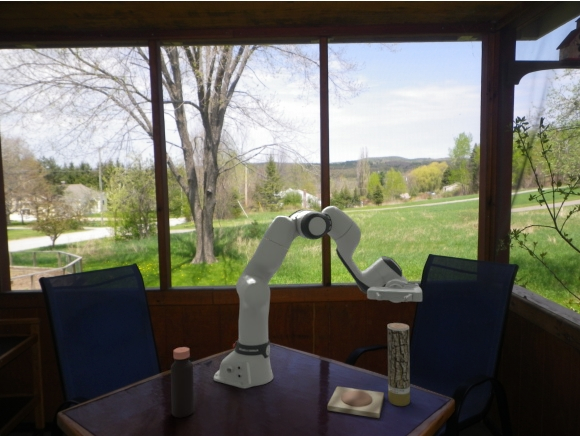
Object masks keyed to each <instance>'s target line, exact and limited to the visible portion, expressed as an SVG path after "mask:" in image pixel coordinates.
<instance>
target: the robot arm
mask: <svg viewBox="0 0 580 436" xmlns="http://www.w3.org/2000/svg"><path fill="white" fill-rule="evenodd" d="M325 235H328V236H329V237H330V238H331V239H332V240H333V241H334V242H335V244H336V249H335V253H336V255H337V258H339V260H340V262H341V263H342V265H343V266H344V267H345V269H346V270H347V272H348V273H349V275H350V276H351V277H352V279H353V280H354V281H355V283H356V285H357V287H358V288H359V290H360V291H361V292H363V294H365V295H366V298H367V299H369V300H377V301H390V302H391V303H395V304H398V303H401V302H403V303H404V302H405V303H408V302H417V303H418V302H423V290H422V288H421V287H420V286H419V283H415V282H409V280H408V279H407V278H406V277H405V275H403V269H402V268H401V266H400V265H399V263H398V262H396V260H395V259H393V258H392V257H389V256H380V257H379V258H377V260H375V261H374V262H372V264H370V265H369V266H368V267H367V268H365V269H364V270H360V268H359V266H358V265H357V264H356V262H355V261H354V260H353V255H354V253H355V251H356V249H357V248H358V246H359V244H360V242H361V237H362V231H361V228H360V227H359V225H358V224H357V223H356V222H355V221H354V220H353V218H351V217H350V216H349V215H348V214H347V213H345V212H344V211H343V210H341V209H340V208H338V207H337V206H335V205H329V206H326V207H325V208H323V209H322V210H321V212H320V211H315V210H312V209H298V210H296V211H294V212H293V213H291V214H290V215H288V216H287V215H282V214H281V215H277V216H276V217H274V218H273V220H272V221H271V222H270V224H269V225H268V226H267V229H266V230H265V232H264V233H263V236H262V238H261V240H260V242H259V243H258V245H257V247H256V249H255V251H254V254H253V255H252V257H251V258H250V260H249V261H248V263H247V264H246V265H245V267H244V269H243V271H242V273H241V275H240V276H239V277H238V279H237V281H236V285H235V288H236V292H237V294H238V298H239V311H238V312H239V314H238V339H237V340H236V341H235V343H233V344H232V348H234V350H233V351H231V352H230V353H229V354H228V355H227V356H225V357H224V358H223V359H222V361H221V362H220V365H219V370H217V371H216V372H215V374H213V375H214V376H213V381H214V382H218V383H223V384H226V385H229V386H233V387H237V388H239V389H249V388H251V387H257V386H262V385H265V384H268V383H269V382H271V381H272V380H273V379H274V374H273V371H272V365H271V360H270V352H271V347H270V339H269V315H270V314H269V312H270V301H271V289H270V285H269V283H270V281H271V280H272V279H273V277H274V275H275V274H276V273H277V271H279V270H280V268H281V266H282V264H283V262H284V259H285V258H286V256H287V254H288V252H289V250H290V247H291V245H292V244H293V242H294V240H296V239H297V237H301V238H304V239H307V240H308V239H309V240H314V241H315V240H318V239H321V238H323V237H324V236H325ZM384 285H385V286H384Z"/></svg>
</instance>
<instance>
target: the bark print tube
mask: <svg viewBox="0 0 580 436" xmlns="http://www.w3.org/2000/svg"><path fill="white" fill-rule="evenodd" d="M410 359H411V358H410V326H409V325H408V324H406V323H403V322H402V323H401V322H393V323H388V324H387V391H388V392H387V393H388V395H387V397H388V402H389V403H390V404H392V405H393V406H396V407H405V406H408V405H409V404H410V402H411V383H410V381H411V379H410V376H411V373H410V372H411V370H410V369H411V368H410V365H411V364H410V363H411V362H410Z"/></svg>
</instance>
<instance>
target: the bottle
mask: <svg viewBox="0 0 580 436" xmlns="http://www.w3.org/2000/svg"><path fill="white" fill-rule="evenodd" d="M190 350H191V349H190V348H189V347H187V346H182V347H180V346H179V347H177V348H175V349H173V360H174V362H173V363H172V364H171V365H170V382H171V383H170V390H171V391H170V393H171V395H170V396H171V415H172V416H173V417H174V418H179V419H180V418H186V417H189V416H191V415H193V413H194V412H195V399H194V397H195V396H194V395H195V394H194V363H193V362H192V361H191V360H189V359H190V357H191V356H190V355H191V354H190Z"/></svg>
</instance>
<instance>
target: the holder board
mask: <svg viewBox="0 0 580 436" xmlns="http://www.w3.org/2000/svg"><path fill="white" fill-rule="evenodd" d="M384 400H385V392H381V391H374V390H373V391H372V390H367V389H358V388H352V387H344V386H336V388H335V389H334V392H333V394H332V396H331V397H330V399H329V401H328V403H327V406H326V407H327V408H326V409H327V411H329V412H330V411H331V412H335V413H337V412H338V413H343V414H351V415H357V416H362V417H363V416H364V417H369V418H374V419H375V418H376V419H379V418H380V415H381V411H382V407H383V404H384Z"/></svg>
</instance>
